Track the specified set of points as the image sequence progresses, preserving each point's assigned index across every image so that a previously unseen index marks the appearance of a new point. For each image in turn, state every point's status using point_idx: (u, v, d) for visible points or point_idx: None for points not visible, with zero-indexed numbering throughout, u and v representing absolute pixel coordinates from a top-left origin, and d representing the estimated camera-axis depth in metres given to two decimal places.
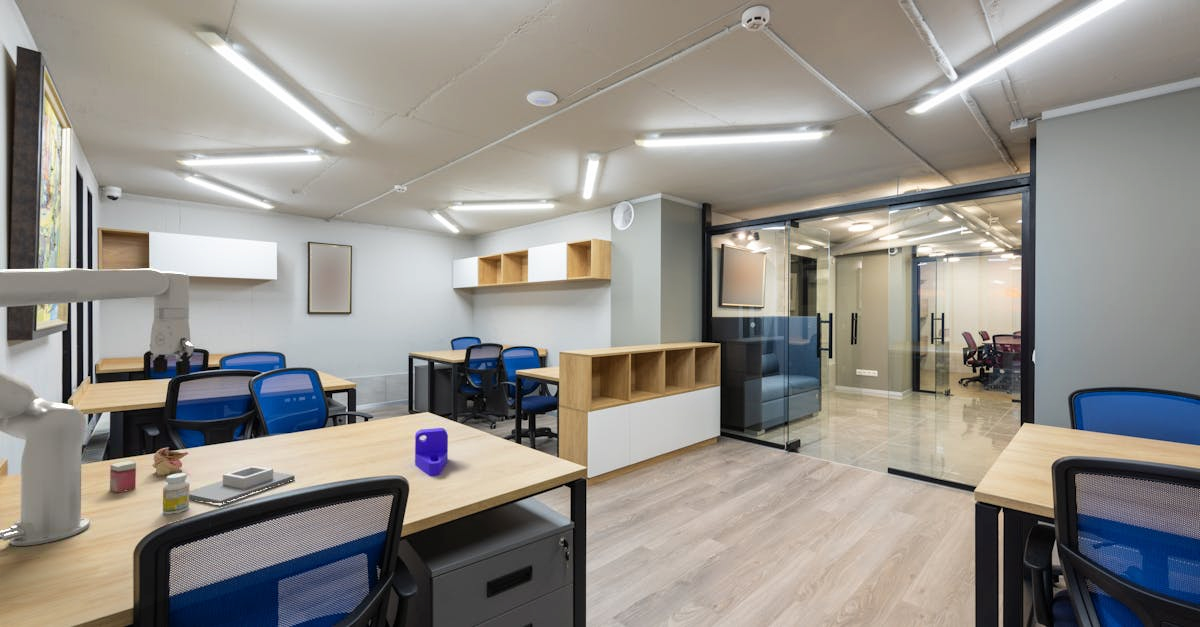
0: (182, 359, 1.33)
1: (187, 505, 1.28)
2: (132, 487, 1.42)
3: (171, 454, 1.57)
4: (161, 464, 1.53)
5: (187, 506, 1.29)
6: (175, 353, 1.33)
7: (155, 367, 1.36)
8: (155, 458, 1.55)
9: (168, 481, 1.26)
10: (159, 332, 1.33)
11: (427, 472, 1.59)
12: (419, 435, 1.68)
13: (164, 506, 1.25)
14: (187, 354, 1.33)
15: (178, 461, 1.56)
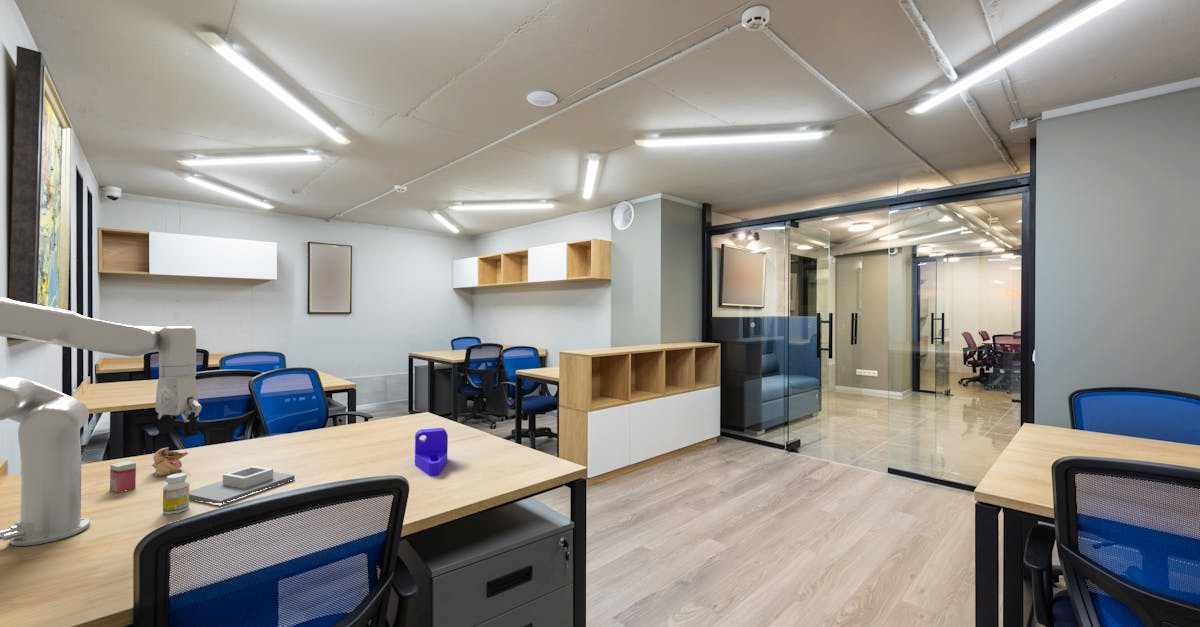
0: (189, 420, 1.25)
1: (187, 505, 1.28)
2: (132, 487, 1.42)
3: (171, 454, 1.57)
4: (161, 464, 1.53)
5: (187, 506, 1.29)
6: (182, 413, 1.25)
7: (161, 427, 1.28)
8: (155, 458, 1.55)
9: (168, 481, 1.26)
10: (165, 391, 1.25)
11: (427, 472, 1.59)
12: (419, 435, 1.68)
13: (164, 506, 1.25)
14: (194, 414, 1.25)
15: (178, 461, 1.56)
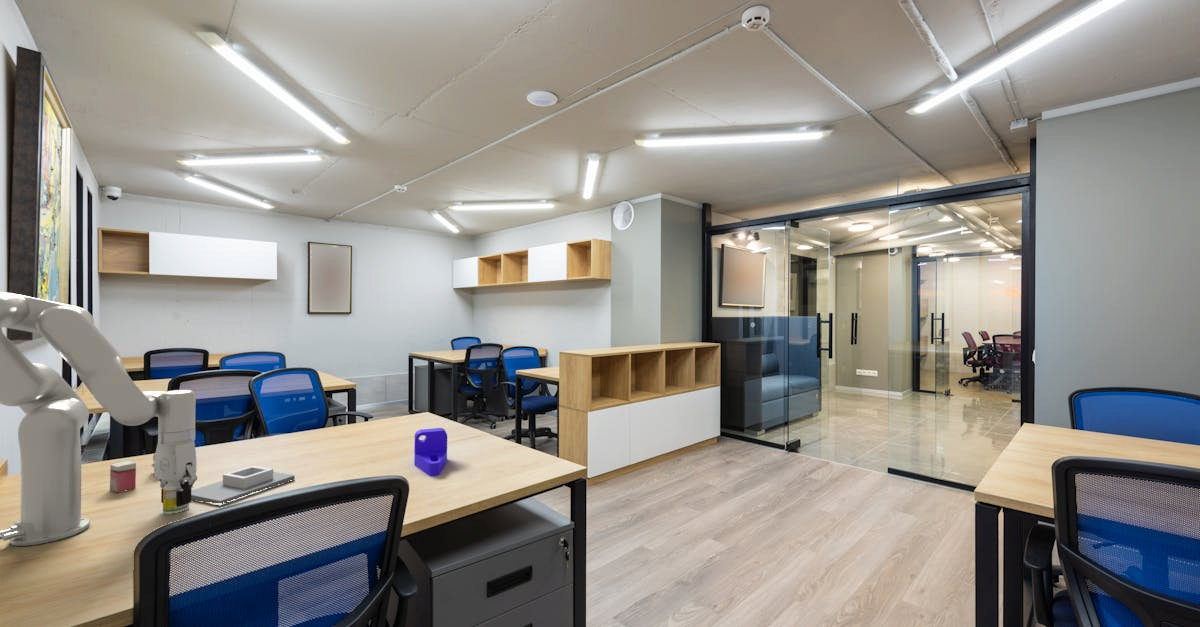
0: (183, 489, 1.26)
1: (187, 505, 1.28)
2: (132, 487, 1.42)
3: None
4: None
5: (188, 506, 1.29)
6: (177, 481, 1.26)
7: None
8: (154, 458, 1.55)
9: (168, 481, 1.26)
10: (164, 457, 1.25)
11: (427, 472, 1.59)
12: (419, 435, 1.68)
13: (164, 506, 1.25)
14: (188, 484, 1.26)
15: None
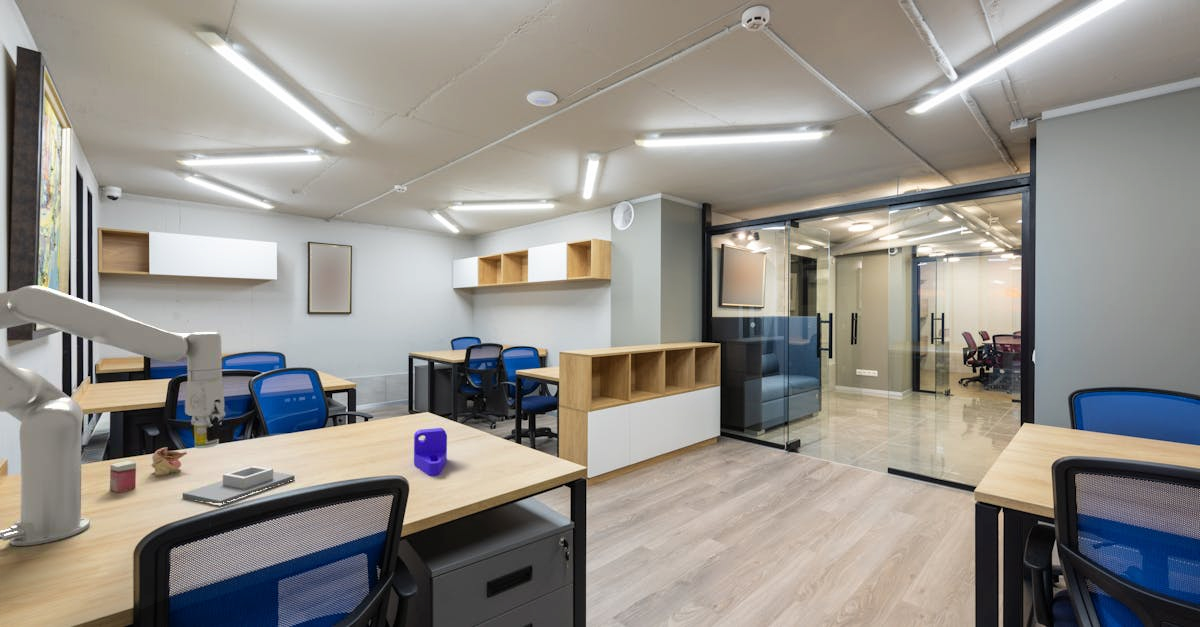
0: (213, 424, 1.32)
1: (216, 440, 1.35)
2: (132, 487, 1.42)
3: (170, 454, 1.58)
4: (160, 464, 1.54)
5: (217, 441, 1.35)
6: (207, 417, 1.32)
7: None
8: (154, 458, 1.55)
9: (199, 417, 1.32)
10: (193, 394, 1.32)
11: (427, 472, 1.59)
12: (418, 435, 1.68)
13: (195, 441, 1.32)
14: (217, 420, 1.32)
15: (177, 461, 1.56)
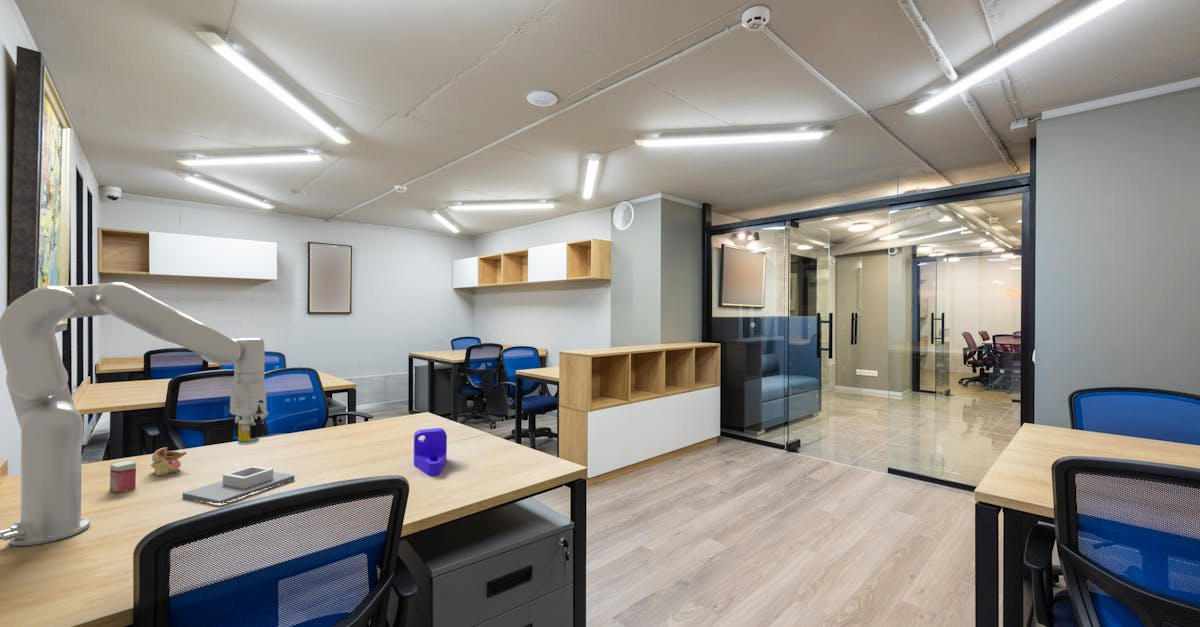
0: (256, 423, 1.44)
1: (258, 438, 1.46)
2: (132, 487, 1.42)
3: (169, 454, 1.58)
4: (160, 464, 1.54)
5: (258, 439, 1.47)
6: (251, 416, 1.44)
7: None
8: (153, 458, 1.55)
9: (243, 416, 1.44)
10: (239, 395, 1.43)
11: (427, 472, 1.59)
12: (418, 435, 1.68)
13: (239, 438, 1.43)
14: (260, 419, 1.44)
15: (177, 461, 1.56)
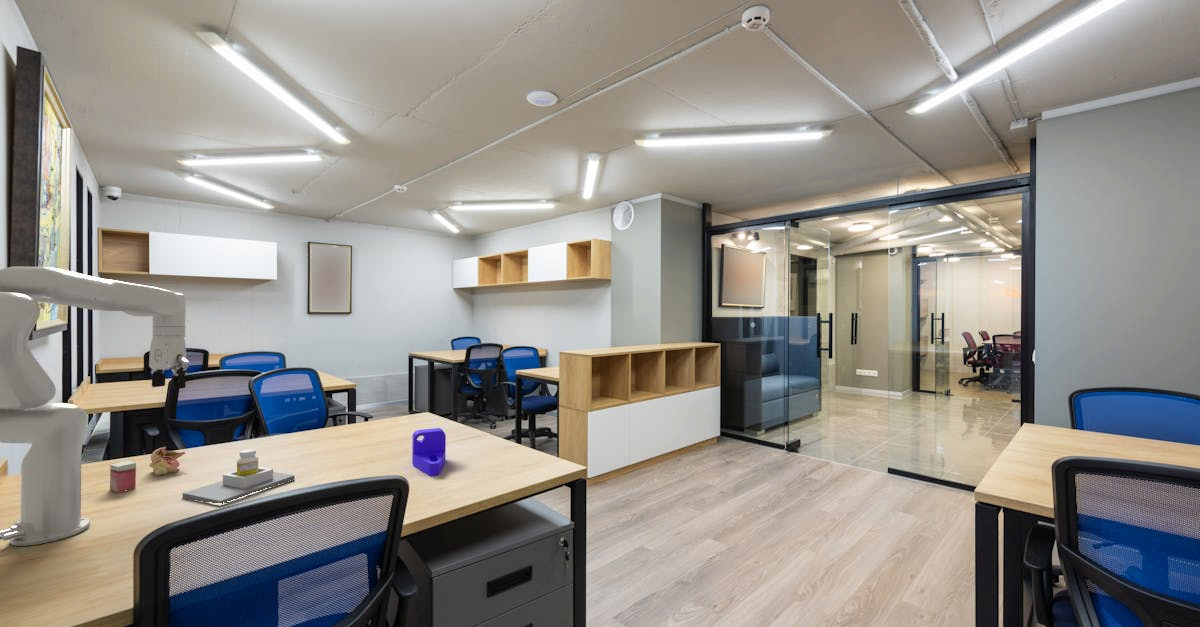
0: (178, 374, 1.43)
1: None
2: (132, 487, 1.42)
3: (168, 454, 1.58)
4: (158, 464, 1.54)
5: None
6: (172, 368, 1.43)
7: (154, 381, 1.46)
8: (152, 458, 1.55)
9: (241, 455, 1.44)
10: (157, 349, 1.44)
11: (427, 472, 1.58)
12: (417, 435, 1.67)
13: None
14: (183, 369, 1.43)
15: (175, 461, 1.57)
